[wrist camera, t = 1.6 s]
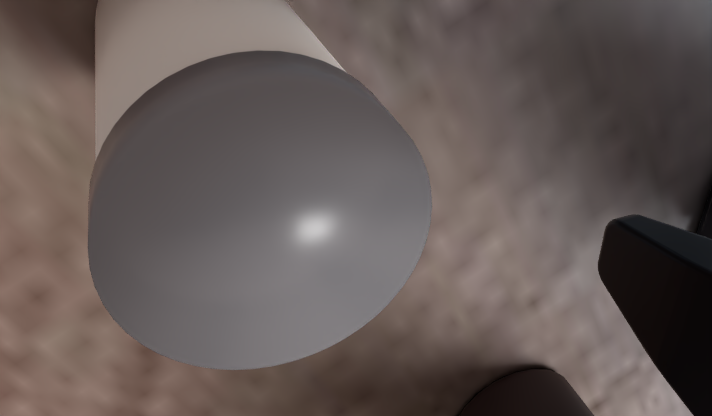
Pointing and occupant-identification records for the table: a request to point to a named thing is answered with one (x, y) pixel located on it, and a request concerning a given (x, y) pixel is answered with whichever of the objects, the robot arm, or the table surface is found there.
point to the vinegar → (528, 397)
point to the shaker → (243, 185)
